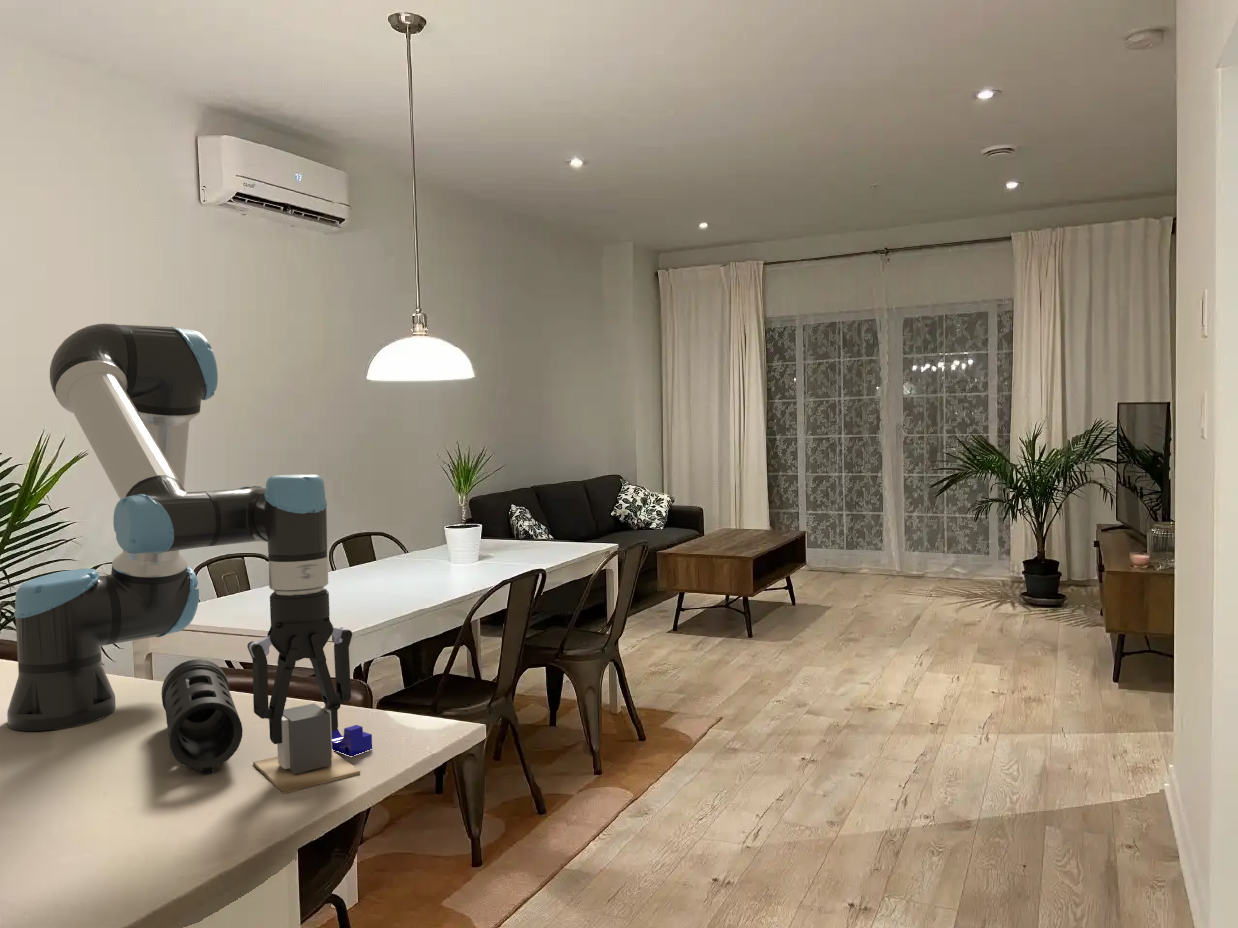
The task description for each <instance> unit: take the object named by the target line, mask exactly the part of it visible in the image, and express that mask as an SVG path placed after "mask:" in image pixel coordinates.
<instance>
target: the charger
mask: <svg viewBox="0 0 1238 928" xmlns="http://www.w3.org/2000/svg"><path fill="white" fill-rule="evenodd" d="M321 707H322V706H319V705H317V704H316V703H314V702H313V703H308V704H304V705H299V706H294V707H290V708H284V712H283V716H284V717H286V718H287V719H288V723H289V749H290V768H288V769H289V770H290V771H291V772H292V773H294V774H297V773H301V772H305V771H309V770H313V769H317V768H321V767H325V766H329V765H332V759H331V731H330V713H328V712H327V711H325V710H324V709H322V708H321Z"/></svg>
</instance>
